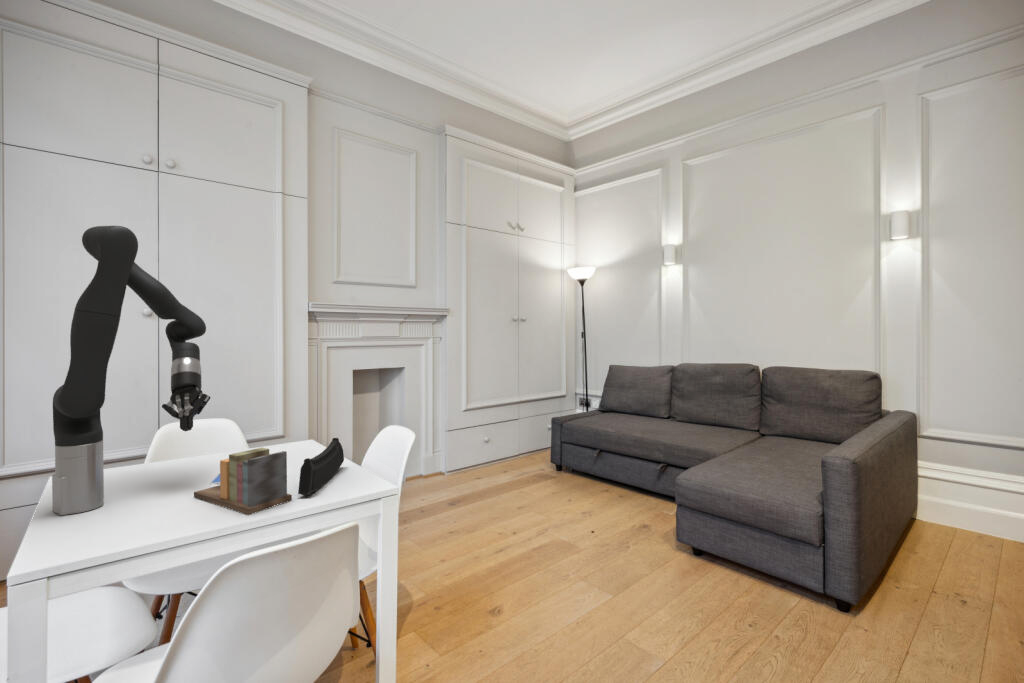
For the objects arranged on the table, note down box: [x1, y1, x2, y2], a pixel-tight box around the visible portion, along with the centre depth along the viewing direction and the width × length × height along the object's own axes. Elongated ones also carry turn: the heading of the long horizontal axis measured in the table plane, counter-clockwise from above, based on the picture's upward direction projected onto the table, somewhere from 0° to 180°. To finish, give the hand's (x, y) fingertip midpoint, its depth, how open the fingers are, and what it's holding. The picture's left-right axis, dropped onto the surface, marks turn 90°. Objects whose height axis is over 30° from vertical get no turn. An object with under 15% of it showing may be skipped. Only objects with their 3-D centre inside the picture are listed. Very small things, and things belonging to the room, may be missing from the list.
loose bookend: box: [219, 458, 229, 500], centre depth 128 cm, size 10×3×10 cm, turn 150°
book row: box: [193, 447, 293, 516], centre depth 128 cm, size 12×26×14 cm, turn 60°
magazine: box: [297, 437, 345, 496], centre depth 142 cm, size 17×3×30 cm
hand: (186, 430), depth 133 cm, fingers closed
